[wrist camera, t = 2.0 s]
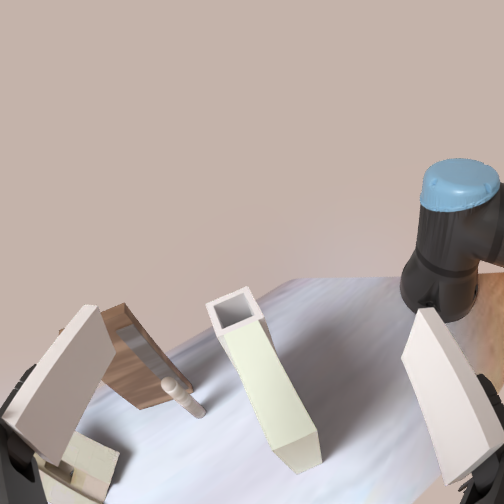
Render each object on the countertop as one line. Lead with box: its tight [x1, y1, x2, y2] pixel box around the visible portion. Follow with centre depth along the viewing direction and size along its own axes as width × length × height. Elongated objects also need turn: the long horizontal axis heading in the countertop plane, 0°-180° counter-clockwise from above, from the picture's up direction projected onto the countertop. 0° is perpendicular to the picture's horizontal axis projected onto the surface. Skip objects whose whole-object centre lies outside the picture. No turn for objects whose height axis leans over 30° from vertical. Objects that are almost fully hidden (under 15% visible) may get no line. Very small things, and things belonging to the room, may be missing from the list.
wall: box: [33, 431, 120, 504], centre depth 28 cm, size 16×9×15 cm
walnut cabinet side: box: [59, 303, 206, 418], centre depth 33 cm, size 6×11×20 cm, turn 109°
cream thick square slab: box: [206, 286, 322, 474], centre depth 29 cm, size 17×5×18 cm, turn 19°
